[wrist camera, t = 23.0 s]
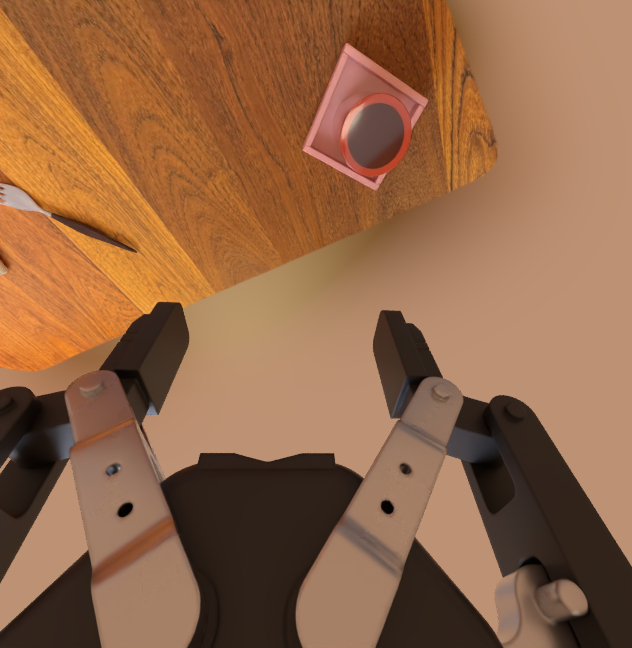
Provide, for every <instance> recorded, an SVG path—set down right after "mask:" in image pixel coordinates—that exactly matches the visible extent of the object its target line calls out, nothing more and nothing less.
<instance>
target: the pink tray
mask: <svg viewBox="0 0 632 648" xmlns="http://www.w3.org/2000/svg"><path fill="white" fill-rule="evenodd" d="M357 91H373V92H380V93H387V94H390V95H393V96H395V97H396V98H398V99H399V100H400V101H401V102H402V103H403V104H404V106H405V107H406V109H407V111H408V113H409V116H410V119H411V126H412V128H413V127H414V125H415V123H416V122H417V120H418V118H419V116H420V115H421V113H422V111H423V109H424V107H425V106H426V104H427V103H428V99H426V98H425V97H423V96H422V95H420V94H419V93H418V92H416V91H415V90H413V89H412V88H410V87H409V86H408V85H406V84H405V83H403V82H402V81H401V80H399V79H398V78H396V77H395V76H393V75H392V74H391V73H389V72H388V71H386V70H385V69H383V68H382V67H381V66H379V65H378V64H376V63H375V62H374V61H372V60H371V59H369V58H368V57H366V56H365V55H364V54H362V53H361V52H359V51H358V50H356V49H355V48H354V47H352V46H351V45H349V44H348V43H346V44H345V45H344V46H343V49H342V51H341V54H340V56H339V59H338V61H337V64H336V66H335V68H334V71H333V73H332V76H331V78H330V81H329V83H328V86H327V88H326V91H325V93H324V96H323V98H322V100H321V103H320V105H319V108H318V110H317V113H316V115H315V118H314V120H313V123H312V125H311V128H310V130H309V132H308V135H307V137H306V140H305V142H304V145H303V151H305V152H307V153H308V154H310V155H312V156H314V157H316V158H317V159H319V160H321V161H323V162H325V163H327V164H328V165H330V166H332V167H334V168H336V169H337V170H339V171H341V172H343V173H345V174H347V175H348V176H350V177H352V178H354V179H356V180H357V181H359V182H361V183H363V184H365V185H366V186H368V187H370V188H372V189H374V190H377V189H378V187H379V185H380V183H381V182H382V180H383V178H384V177H385V175H386V173H385V174H382V175H379V176H364V175H361V174H359V173H357V172H355V171H354V170H353V169H351V168H350V167H349V165H348V164H347V163H346V161H345V159H344V157H343V156H342V154H341V152H340V150H339V148H338V146H337V144H336V142H335V140H334V136H333V129H332V128H333V119H334V115H335V112H336V110H337V108H338V106H339V105H340V103H341V102H342V101H343V100H344V99H345V98H346V97H347V96H349V95H350V94H352V93H354V92H357Z"/></svg>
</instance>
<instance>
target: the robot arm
mask: <svg viewBox="0 0 632 648" xmlns="http://www.w3.org/2000/svg"><path fill="white" fill-rule="evenodd" d="M188 344H189V332H188V328H187V324H186V320H185V316H184V312H183V308H182V305H181V304H180V303H176V302H158V303H157V304H156V306H155V307H154V309H153V310H152V312H151V313H150V314H144V315H142V316H141V317H140V318H138V319H137V320H135V321H134V322H133V323H132V324H131V325H130V327H129V328H128V330H127V331H126V334H124V335H123V337H122V338H121V340H120V342H118V344H117V345H116V347H115V348H114V349H113V351H112V352H111V354H110V355H109V356H108V358H107V359H106V361H105V362H104V364H103V365H102V366H101V368H100V369H99V371H94V372H90V373H87V374H85V375H83V376H81V377H79V378H78V379H76V380H75V381H74V382H72V383H71V385H69V387H68V388H67V390H65V391H60V392H55V393H51V394H46V395H41V396H37V397H36V396H35V395H34V394H33V392H32V391H31V390H30V389H28V388H26V387H10V388H6V389H3V390H0V468H1V466H2V465H3V464H4V462H5V461H6V459H7V458H8V457H9V458H10V459H11V460H10V461H9V463H8V464H7V465H6V467H5V468H4V470H3V471H2V473H1V474H0V583H1V581H2V579H3V577H4V576H5V574H6V572H7V570H8V568H9V567H10V565H11V563H12V561H13V559H14V558H15V556H16V554H17V552H18V550H19V549H20V547H21V545H22V543H23V541H24V540H25V538H26V536H27V534H28V532H29V530H30V529H31V527H32V525H33V523H34V521H35V520H36V518H37V516H38V514H39V513H40V511H41V509H42V507H43V505H44V504H45V502H46V500H47V498H48V496H49V494H50V492H51V491H52V489H53V487H54V486H55V484H56V482H57V480H58V478H59V477H60V475H61V473H62V471H63V469H64V467H65V466H66V464H67V462H68V460H69V459H70V460H71V465H72V470H73V475H74V480H75V485H76V490H77V495H78V500H79V505H80V510H81V515H82V520H83V524H84V530H85V535H86V540H87V545H88V551H87V552H86V553H84V555H82V556H81V557H80V558H79V559H78V560H77V561H76V562H75V563H74V564H73V565H72V566H70V567H69V568H68V569H67V570H66V571H65V572H64V573H63V574H62V575H61V576H60V577H59V578H58V579H56V580H55V581H54V582H53V583H52V584H51V585H50V586H49V587H48V588H47V589H46V590H45V591H43V592H42V593H41V594H40V595H39V596H38V597H37V598H36V599H35V600H34V601H33V602H32V603H31V604H30V605H28V606H27V607H26V608H25V609H24V610H23V611H22V612H21V613H20V614H19V615H18V616H17V617H16V618H15V619H13V620H12V621H11V622H10V623H9V624H8V625H7V626H6V627H5V628H4V629H3V630H2V631H0V648H632V566H631V565H630V563H629V562H628V560H627V558H626V557H625V555H624V554H623V552H622V551H621V549H620V548H619V546H618V544H617V543H616V541H615V540H614V538H613V537H612V535H611V533H610V532H609V530H608V528H607V527H606V525H605V524H604V522H603V521H602V519H601V517H600V516H599V514H598V513H597V511H596V509H595V508H594V507H593V505H592V503H591V502H590V500H589V498H588V497H587V495H586V494H585V492H584V491H583V489H582V488H581V486H580V484H579V483H578V481H577V479H576V478H575V476H574V475H573V473H572V472H571V470H570V469H569V467H568V465H567V464H566V462H565V461H564V459H563V457H562V456H561V454H560V453H559V451H558V449H557V448H556V446H555V445H554V443H553V442H552V440H551V438H550V437H549V435H548V434H547V432H546V431H545V429H544V427H543V426H542V424H541V423H540V421H539V420H538V418H537V416H536V415H535V413H534V412H533V411H532V410H531V409H530V408H529V407H528V406H527V405H526V404H524V403H523V402H521V401H520V400H518V399H516V398H513V397H510V396H504V395H499V396H496V397H494V398H493V399H492V400H491V401H490V403H486V402H482V401H478V400H475V399H471V398H468V397H465V396H463V395H462V393H461V391H460V390H459V389H458V388H457V387H456V386H455V385H454V384H453V383H451V382H450V381H448V380H446V379H443V377H442V375H441V373H440V371H439V368H438V366H437V364H436V362H435V360H434V358H433V356H432V354H431V351H429V347H428V345H427V343H426V341H425V339H424V337H423V335H422V333H421V331H420V330H419V329H418V328H417V327H416V326H415V325H414V324H411V323H406V322H405V320H404V318H403V315H402V313H401V311H388V310H382V311H381V312H380V315H379V319H378V323H377V327H376V331H375V335H374V340H373V352H374V356H375V360H376V363H377V368H378V371H379V375H380V379H381V383H382V387H383V390H384V394H385V398H386V402H387V406H388V409H389V413H390V417H391V418H401V419H400V420H398V421H397V422H396V424H395V426H394V427H393V429H392V431H391V433H390V435H389V436H388V438H387V440H386V442H385V443H384V445H383V447H382V449H381V450H380V452H379V454H378V455H377V457H376V459H375V461H374V463H373V464H372V466H371V467H370V469H369V471H368V473H367V474H366V476H365V478H363V477H361V476H360V475H359V474H357V473H356V472H354V471H352V470H351V469H349V468H347V467H344V466H342V465H339V464H335V458H334V453H332V454H331V453H322V454H321V453H312V454H311V453H303V454H298V455H294V456H290V457H286V458H282V459H279V460H274V461H270V462H265V461H261V460H257V459H253V458H250V457H246V456H242V455H239V454H235V453H201V454H200V457H199V461H198V464H195V465H192V466H190V467H187V468H184V469H182V470H180V471H178V472H176V473H174V474H173V475H171V476H169V477H168V478H167V479H166V478H165V476H164V474H163V472H162V469H161V467H160V465H159V463H158V460H157V458H156V455H155V453H154V451H153V448H152V446H151V443H150V441H149V439H148V436H147V434H146V431H145V429H144V427H143V425H142V422H143V420H144V418H145V416H146V415H159V412H160V410H161V408H162V405H163V403H164V401H165V398H166V396H167V394H168V392H169V389H170V387H171V384H172V382H173V380H174V378H175V375H176V373H177V371H178V369H179V366H180V364H181V362H182V359H183V357H184V355H185V353H186V350H187V348H188ZM446 455H449V456H452V457H455V458H459V459H461V462H462V464H463V467H464V470H465V473H466V476H467V478H468V481H469V484H470V487H471V489H472V492H473V495H474V498H475V501H476V504H477V506H478V509H479V512H480V515H481V517H482V520H483V523H484V526H485V528H486V532H487V534H488V537H489V540H490V543H491V545H492V548H493V551H494V554H495V557H496V560H497V562H498V565H499V568H500V571H501V573H502V576H503V578H502V579H501V580H500V581H499V582H498V584H497V586H496V589H495V603H496V608H497V613H498V620H499V625H498V632H497V635H496V634H495V632H494V631H493V629H492V628H491V627H490V625H489V624H488V623H487V621H486V620H485V619H484V618H483V617H482V615H481V614H480V613H479V612H478V611H477V609H476V608H475V607H474V606H473V605H472V604H471V602H470V601H469V600H468V599H467V598H466V597H465V595H464V594H463V593H462V592H461V591H460V589H459V588H458V587H457V586H456V585H455V584H454V583H453V581H452V580H451V579H450V578H449V577H448V575H447V574H446V573H445V572H444V571H443V570H442V568H441V567H440V566H439V565H438V564H437V563H436V561H435V560H434V559H433V558H432V557H431V556H430V554H429V553H428V552H427V551H426V550H425V548H424V547H423V546H422V545H421V544H420V542H419V541H418V540H417V539H416V538H415V535H416V532H417V530H418V527H419V524H420V521H421V519H422V517H423V514H424V511H425V509H426V506H427V503H428V501H429V498H430V495H431V493H432V490H433V488H434V485H435V482H436V479H437V477H438V474H439V472H440V469H441V466H442V464H443V461H444V459H445V456H446Z"/></svg>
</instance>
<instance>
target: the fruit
mask: <svg viewBox="0 0 632 648" xmlns="http://www.w3.org/2000/svg"><path fill="white" fill-rule="evenodd" d="M8 271H9V270H8V268H7V267H6V266H5V265H4V264H3V263H2V261H1V260H0V275H3V274H6V273H7V272H8Z"/></svg>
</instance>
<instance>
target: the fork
mask: <svg viewBox="0 0 632 648" xmlns="http://www.w3.org/2000/svg"><path fill="white" fill-rule="evenodd" d="M0 186H1V187H3V188H5V189H0V192H1V193H4V194H5V195H0V198H2V199H4V200H5V201H0V204H3V205H7V206H10V207H14V208H17V209H21V210H28V211H38V212H41V213H44V214H46V215H48V216H50V217H52V218H54V219H56V220H57V221H59V222H61V223H63V224H65V225H67V226H69V227H70V228H72V229H74V230H76V231H78V232H80V233H82V234H85V235H87V236H90V237H92V238H95V239H98V240H101V241H104V242H107V243H109V244H112V245H115V246H118V247H120V248H123V249H126V250H129V251H132V252H135V253H137V251H136V250H134V249H132V248H130V247H128V246H126V245H124V244H123V243H121V242H118V241H116V240H114V239H113V238H111V237H109V236H107V235H105V234H103V233H101V232H99V231H98V230H96V229H94V228H92V227H90V226H87V225H85V224H82V223H80V222H77V221H74V220H71V219H68V218H66V217H63V216H60V215H57V214H54V213H51V212H48V211H46V210H44V209H42V208H41V207H39V206H38V205H37V204H36V203H35V202H34V200H33V199H32V198H31V197H30V196H29V195H28V194H27V193H26V192H24V191H23V190H21V189H20V188H18V187H15V186H12V185H8V184H3V183H0Z"/></svg>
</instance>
